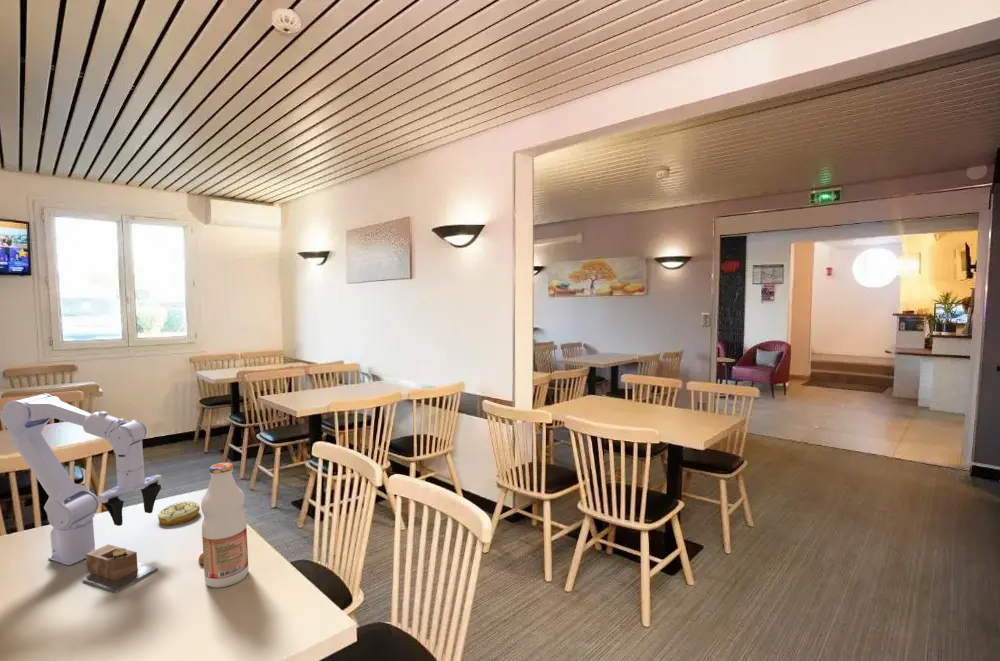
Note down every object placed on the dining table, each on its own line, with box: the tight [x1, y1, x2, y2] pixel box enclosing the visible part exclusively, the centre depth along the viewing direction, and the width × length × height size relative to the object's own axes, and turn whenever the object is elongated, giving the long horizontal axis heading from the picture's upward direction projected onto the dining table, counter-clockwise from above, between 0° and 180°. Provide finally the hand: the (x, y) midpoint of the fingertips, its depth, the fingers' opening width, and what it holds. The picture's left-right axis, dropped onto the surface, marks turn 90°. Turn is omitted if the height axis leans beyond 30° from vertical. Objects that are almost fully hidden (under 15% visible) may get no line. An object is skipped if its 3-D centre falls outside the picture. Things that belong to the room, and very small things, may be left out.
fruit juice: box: [200, 461, 249, 589], centre depth 121 cm, size 9×9×28 cm
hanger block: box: [85, 544, 138, 581], centre depth 124 cm, size 11×5×5 cm, turn 68°
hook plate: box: [82, 547, 159, 593], centre depth 122 cm, size 12×10×6 cm
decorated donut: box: [157, 501, 201, 526], centre depth 154 cm, size 10×11×4 cm
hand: (133, 518), depth 132 cm, fingers open, 7 cm apart
